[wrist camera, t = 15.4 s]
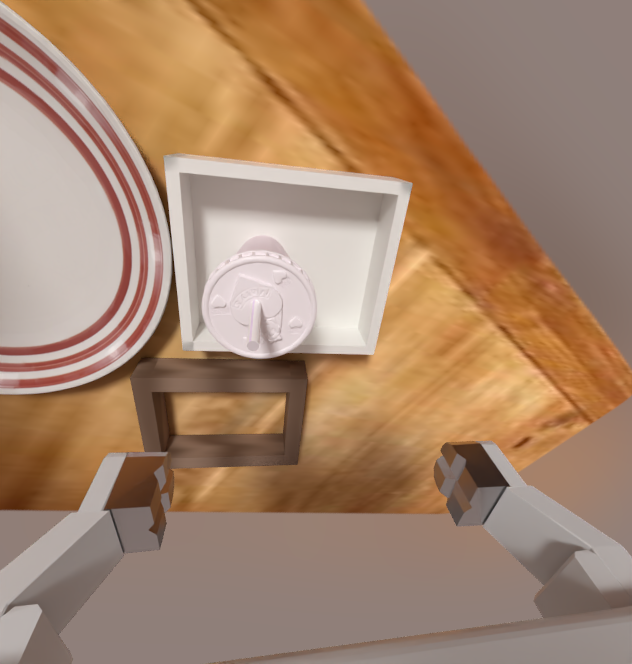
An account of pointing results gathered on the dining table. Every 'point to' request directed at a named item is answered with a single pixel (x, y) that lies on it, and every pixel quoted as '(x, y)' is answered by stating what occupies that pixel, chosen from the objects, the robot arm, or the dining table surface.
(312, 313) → the smoothie
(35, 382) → the dinner plate
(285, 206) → the tray
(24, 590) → the robot arm
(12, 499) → the dining table surface
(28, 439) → the dining table surface
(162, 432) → the socket block
